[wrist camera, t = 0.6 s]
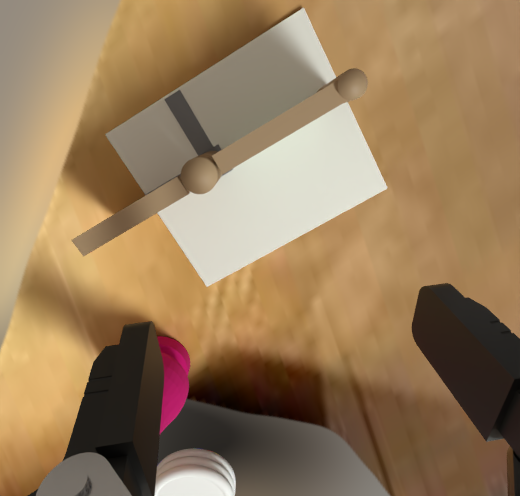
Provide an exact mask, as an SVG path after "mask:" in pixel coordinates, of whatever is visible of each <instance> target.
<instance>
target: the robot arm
mask: <svg viewBox="0 0 520 496" xmlns="http://www.w3.org/2000/svg"><path fill="white" fill-rule="evenodd" d="M412 333H413V337H414V340H415V342H416V344H417V346H418V347H419V348H420V350H421V351H422V353H423V354H424V355H425V357H426V358H427V360H428V361H429V362H430V364H431V365H432V367H433V368H434V369H435V371H436V372H437V373H438V375H439V376H440V378H441V379H442V380H443V382H444V383H445V385H446V386H447V387H448V389H449V390H450V392H451V393H452V394H453V396H454V397H455V399H456V400H457V401H458V403H459V404H460V406H461V407H462V408H463V410H464V411H465V412H466V414H467V415H468V417H469V418H470V419H471V421H472V422H473V424H474V425H475V426H476V428H477V429H478V431H479V432H480V433H481V435H482V436H483V438H484V439H485V440H486V442H487V441H492V440H498V439H503V438H504V439H505V440H506V441H507V443H508V444H509V445H510V446H509V448H508V451H507V483H508V496H520V339H519V338H518V337H517V336H516V335H515V334H514V333H511V330H510V329H509V328H508V327H507V326H505V325H504V324H503V323H500V320H499V319H498V318H497V317H496V316H495V315H494V314H493V313H492V312H490V311H489V310H488V309H487V308H486V307H484V306H483V305H481V304H479V303H477V302H475V301H474V300H472V299H470V298H465V297H464V296H463V295H462V294H461V293H459V292H458V291H457V290H456V289H455V288H454V287H453V286H452V285H451V284H448V283H445V284H438V285H430V286H424V287H422V288H421V289H420V291H419V295H418V299H417V304H416V309H415V313H414V318H413V322H412ZM163 389H164V366H163V359H162V355H161V351H160V347H159V343H158V339H157V335H156V330H155V326H154V323H153V322H152V321H150V322H143V323H135V324H128V325H125V326H124V327H123V331H122V335H121V339H120V344H119V345H112V346H106V347H105V348H104V350H103V351H102V352H101V353H100V355H99V356H98V357H97V358H96V360H95V361H94V362H93V366H92V369H91V372H90V376H89V382H87V385H86V389H85V392H84V397H83V399H82V402H81V405H80V409H79V412H78V415H77V419H76V422H75V425H74V428H73V432H72V435H71V438H70V442H69V445H68V448H67V452H66V454H65V457H64V459H63V461H62V462H61V463H60V464H58V465H57V466H56V467H55V468H54V469H53V470H52V471H51V472H50V473H49V474H48V475H47V476H46V477H45V479H44V480H43V482H42V483H41V485H40V487H39V489H37V490H36V491H34V492H33V493H31V494H30V495H28V496H155V484H156V473H157V460H158V449H159V436H160V425H161V413H162V401H163Z"/></svg>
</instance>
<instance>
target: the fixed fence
mask: <svg viewBox="0 0 520 496" xmlns="http://www.w3.org/2000/svg"><path fill="white" fill-rule="evenodd" d="M217 152H218V151H209V152H206V153H204V154H202V155H199V156H197V157H195V158H193V159H190V160H189V161H187V162H186V163H185V164H184V166H183V167H182V170H181V177H180V176H177V177H176V178H174V179H172V180H171V181H169V182H167V183H166V184H164V185H162V186H161V187H159V188H157V189H156V190H154V191H152V192H151V193H149V194H147V195H146V196H144V197H142V198H141V199H139V200H137V201H136V202H134V203H132V204H131V205H129V206H127V207H126V208H124V209H122V210H121V211H119V212H117V213H116V214H114V215H112V216H111V217H109V218H107V219H106V220H104V221H102V222H101V223H99V224H97V225H96V226H94V227H92V228H91V229H89V230H87V231H86V232H84V233H82V234H81V235H79V236H77V237H76V238H74V239H72V242H73V243H74V244H75V246H76V247H77V248H78V250H79V251H80V252H81V254H82V255H83V256H85V255H87V254H88V253H90V252H92V251H93V250H95V249H97V248H98V247H100V246H102V245H104V244H105V243H107V242H109V241H110V240H112V239H114V238H115V237H117V236H119V235H120V234H122V233H124V232H126V231H127V230H129V229H131V228H132V227H134V226H136V225H137V224H139V223H141V222H142V221H144V220H146V219H148V218H149V217H151V216H153V215H154V214H156V213H158V212H159V211H161V210H163V209H165V208H166V207H168V206H170V205H171V204H173V203H175V202H176V201H178V200H180V199H181V198H183V197H185V196H187V195H188V194H189V193H190V192H192V193H194V194H205V193H207V192H209V191H211V190H212V189H213V187H214V186H215V185H216V183H217V182H218V180H219V179H220V178H221V176H222V175H223V174H222V172H221V170H220V169H219V167H218V165H217V164H216V162H215V160H214V159H213V157H212V155H214V154H216V153H217Z"/></svg>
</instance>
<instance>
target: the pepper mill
mask: <svg viewBox="0 0 520 496" xmlns="http://www.w3.org/2000/svg"><path fill="white" fill-rule="evenodd" d="M157 339H158V343H159V347H160V351H161V355H162V359H163V366H164V389H163V401H162V413H161V425H160V434H161V432H162V431H163V430H164V429H165V427H166V426H167V425H168V424H170V422H171V421H173V419H175V418H176V416H177V415H178V413H179V412H180V410H181V409H182V407H183V405H184V403H185V400H186V398H187V395H188V390H189V382H188V377H187V376H188V372H189V369H190V358H189V355H188V352H187V350H186V349H185V348H184V347H183V345H181V344H180V343H179V342H177V341H176V340H174V339H171V338H168V337H162V336H157Z"/></svg>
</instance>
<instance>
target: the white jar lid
mask: <svg viewBox="0 0 520 496" xmlns="http://www.w3.org/2000/svg"><path fill="white" fill-rule="evenodd" d="M235 485H236V480H235V475H234V472H233V469H232V467H231V466H230V464H229V463H228V462H227V461H226V460H225V459H224V458H223V457H221V456H220V455H218V454H216V453H214V452H212V451H209V450H205V449H198V448H189V449H183V450H178V451H176V452H173V453H171V454H169V455H168V456H166V457H165V458H164V459H163V460H162V461H161V462H160V463H159V464H158V466H157V473H156V484H155V496H235Z"/></svg>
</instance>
